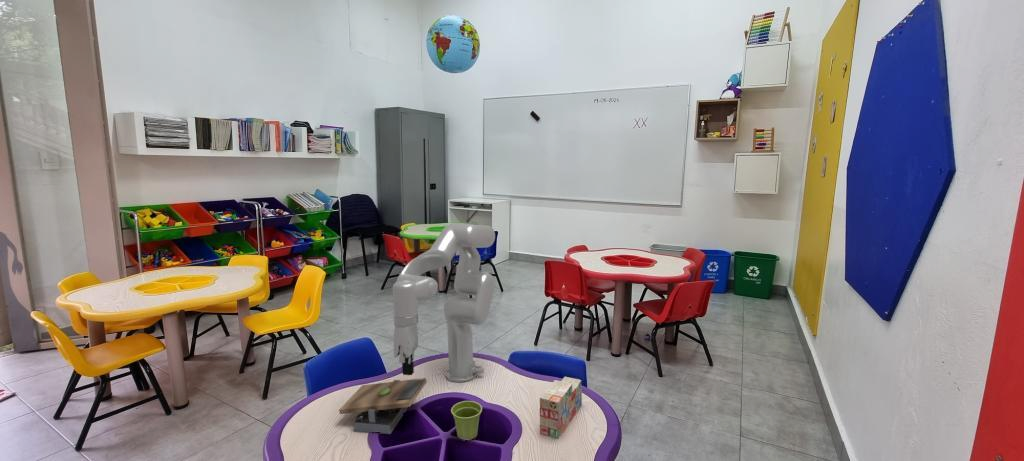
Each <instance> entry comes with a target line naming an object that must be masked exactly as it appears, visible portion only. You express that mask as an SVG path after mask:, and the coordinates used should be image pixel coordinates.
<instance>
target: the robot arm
mask: <svg viewBox="0 0 1024 461" xmlns="http://www.w3.org/2000/svg"><path fill="white" fill-rule="evenodd" d="M495 239H496V232H495V230H494V228H493V227H492V226H490V225H486V224H485V225H484V224H471V223H449V224H447V225H446V226H444V228H443V229H442V230H441V232H440V233H439V234H438V236H437V238H436V240H435V241H434V242H433V244H432V245H431V246H430V249H429V250H426V251H424V252H422V253H421V254H419V255H417V257H415V258H413V259H411V260H410V261H409V262H407V264H406V265H405V266H404V268H402V271H401V272H400V273H399V275H398V277H397V279H396V281H395V283H394V284H393V285H392V302H393V303H392V306H393V326H394V332H393V357H394V358H398V356H399V360H398V363H400V364H401V366H402V367H401V368H402V375H403V376H412V375H413V374H414V372H415V371H414V368H415V367H414V366H415V365H414V360H415V359H414V357H415V356H414V355H415V351H416V350H417V349H418V347H419V331H418V324H419V306H418V305H419V304H418V302H420V301H421V302H422V301H425V300H430V299H432V298H434V296H436V294H437V292H438V288H439V286H438V282H437V281H436V279H434V278H433V277H429V276H425V275H424V276H423V274H426V272H429V271H433V270H436V269H437V270H438V269H441V268H444V267H447V266H448V265H449V264H450V263H451V261H452V259H453V258H454V256H455V254H456V253H457V251H458V254H459V259H458V265H457V269H456V273H455V277H454V283H453V288H454V290H455V291H456V292H457V293H459V294H462V295H463V294H464V295H468V296H469V295H470V296H475V298H470V297H467V296H466V297H465V296H451V297H450V298H448V299H447V300H446V301H445V302H444V304H443V314H444V318H445V321H446V322H445V324H446V330H447V351H448V355H447V356H448V368H447V369H446V371H445V373H444V375H445V378H446V379H447V380H448V381H451V382H457V383H463V382H469V381H472V380H473V379H475V378H476V377H477V376H478V373H479V374H484V373H485V367H483V365H478V364H476V361H474V349H473V347H474V346H473V345H474V344H473V330H472V327H471V325H475V326H476V325H477V326H481V325H484V324H485V323H486V321H487V319H488V317H489V313H490V309H491V304H492V300H493V294H494V290H495V279H494V277H493V275H492V274H491V273H490V272H487V271H481V270H480V267H481V262H482V261H481V260H482V259H481V255H480V254H479V253H480V252H479V251H478V250H477V249H479V248H480V249H483V248H490V247H491V246H493V244H494V242H495V241H496V240H495Z"/></svg>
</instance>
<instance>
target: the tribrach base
mask: <svg viewBox="0 0 1024 461" xmlns="http://www.w3.org/2000/svg"><path fill="white" fill-rule="evenodd" d="M394 381H401V380H398V379H394V380H393V381H392V382H394ZM407 408H408V407H404V408H394V409H385V410H379V411H378V412H377V413H376V409H369V411H366V412H360V413H358V414H357V415H356V419H355V420H354V421H353V432H356V433H367V434H368V433H370V434H371V432H375V431H379V432H380V433H379V434H384V435H385V434H386V435H391V434H392V433H393V431H394V429H395V428H396V426H398V423H399V422H400V421H401V419H402V418H403V416H404V415H403V412H404V411H405V410H406V409H407ZM408 409H409V408H408ZM408 409H407V410H408Z"/></svg>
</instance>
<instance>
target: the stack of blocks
mask: <svg viewBox="0 0 1024 461" xmlns="http://www.w3.org/2000/svg"><path fill="white" fill-rule="evenodd" d="M582 397H583V389H582V380H581V379H579V378H573V377H567V376H564V377H563V378H562V379H561V380H558V379H557V380H556V379H555V380H553V381H552V383H551V384H550V385H549V386H548V388H547V389H545V391H544V392H543V393H542V394H541V395H540V396H539V434H540V435H544V436H547V437H550V438H552V439H553V438H554V439H557V440H558V439H560V437H561V436H562V435H563V433H565V430H566V429H567V428H568V426H569V425H570V422H572V420H573V418H574V417H575V416H576V414H577V413H578V411H579V410H580V408H581V406H582V405H583V403H582V402H583V401H582Z"/></svg>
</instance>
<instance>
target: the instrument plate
mask: <svg viewBox="0 0 1024 461" xmlns="http://www.w3.org/2000/svg"><path fill="white" fill-rule="evenodd" d="M393 381H394V380H393ZM393 381H388V382H377V383H370V384H362V385H361V386H360V387H359V388H358V389H357V391H356V392H354V393H353V395H352V396H351V397H349V399H348V400H347V401H346V402H345V403H344V404H343V405H342V406H341V407H340V408H339V409H338V410H339V415H344V414H346V415H347V414H357V413H362V412H366V411H369V409H376V413H377V412H378V411H379V410H385V409H394V408H404V407H409V408H410V407H411V406H412V404H414V401H415V400H416V398H417V397H418V396H419V394H420V393H421V391H422V389H424V386H425V385H426V384H427V382H428V380H427V377H423V378H422V377H420V378H413V379H412V378H411V379H405V380H404V379H403V380H400V381H394V382H393Z"/></svg>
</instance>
